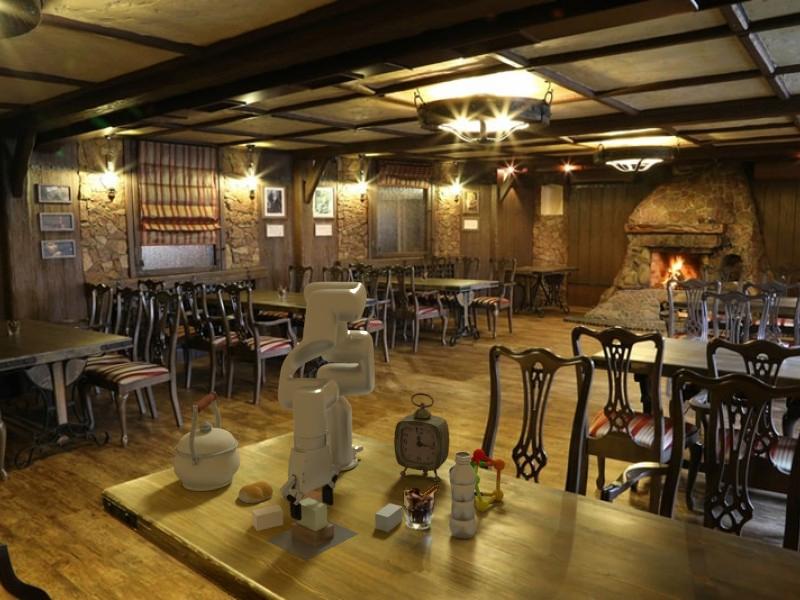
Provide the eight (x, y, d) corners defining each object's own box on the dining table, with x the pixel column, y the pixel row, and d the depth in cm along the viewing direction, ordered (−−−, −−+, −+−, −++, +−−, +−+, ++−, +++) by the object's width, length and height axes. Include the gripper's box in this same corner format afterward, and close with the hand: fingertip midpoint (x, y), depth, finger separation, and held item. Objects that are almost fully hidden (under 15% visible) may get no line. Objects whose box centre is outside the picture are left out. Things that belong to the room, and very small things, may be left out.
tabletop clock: (394, 477, 186) (393, 394, 183) (406, 467, 194) (405, 386, 191) (441, 485, 180) (441, 399, 177) (451, 473, 188) (451, 391, 185)
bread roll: (278, 496, 174) (278, 482, 174) (250, 507, 168) (250, 492, 167) (261, 487, 180) (260, 474, 180) (233, 497, 174) (233, 483, 173)
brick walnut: (311, 526, 153) (310, 515, 153) (334, 537, 148) (333, 525, 148) (291, 536, 149) (291, 523, 149) (314, 547, 144) (314, 534, 143)
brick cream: (278, 523, 158) (278, 504, 157) (283, 529, 155) (282, 509, 154) (252, 529, 155) (252, 510, 154) (257, 536, 152) (256, 516, 151)
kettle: (227, 498, 173) (223, 409, 170) (161, 497, 174) (156, 408, 171) (253, 463, 198) (250, 385, 195) (195, 463, 199) (191, 385, 196)
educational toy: (462, 491, 178) (464, 438, 178) (507, 501, 172) (509, 446, 172) (440, 508, 164) (442, 451, 164) (487, 519, 158) (490, 459, 158)
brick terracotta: (308, 508, 166) (308, 490, 166) (321, 510, 165) (321, 491, 165) (300, 520, 160) (299, 501, 159) (313, 521, 159) (313, 502, 158)
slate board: (318, 520, 159) (318, 516, 159) (358, 538, 150) (358, 533, 150) (266, 545, 147) (266, 540, 147) (306, 565, 138) (306, 560, 138)
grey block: (389, 522, 158) (389, 503, 158) (402, 526, 156) (402, 506, 156) (375, 533, 153) (375, 513, 152) (388, 537, 151) (387, 517, 150)
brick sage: (297, 522, 149) (296, 502, 148) (309, 517, 152) (308, 497, 151) (315, 531, 145) (315, 510, 144) (327, 525, 148) (326, 505, 147)
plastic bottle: (479, 530, 153) (479, 450, 151) (473, 544, 147) (473, 460, 144) (453, 527, 155) (453, 447, 153) (446, 540, 149) (445, 457, 146)
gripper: (327, 427, 155) (329, 494, 157) (269, 447, 142) (272, 519, 144) (348, 434, 150) (350, 502, 152) (291, 455, 137) (293, 530, 139)
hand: (312, 511), depth 148 cm, fingers open, 9 cm apart
